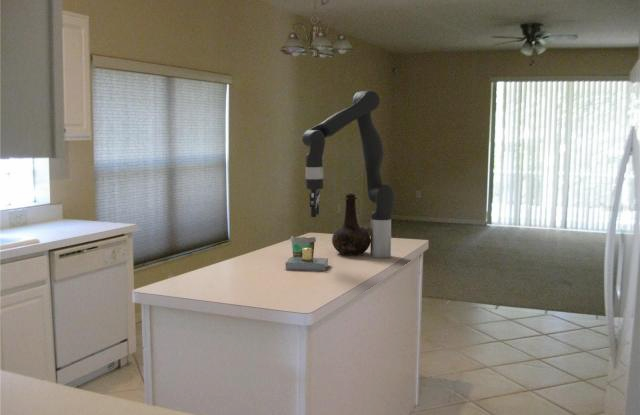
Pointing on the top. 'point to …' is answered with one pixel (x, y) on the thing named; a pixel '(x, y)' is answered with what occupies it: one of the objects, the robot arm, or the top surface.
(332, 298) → the top surface
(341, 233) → the glass bottle
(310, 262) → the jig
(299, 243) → the food container
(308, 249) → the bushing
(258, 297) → the top surface
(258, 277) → the top surface
